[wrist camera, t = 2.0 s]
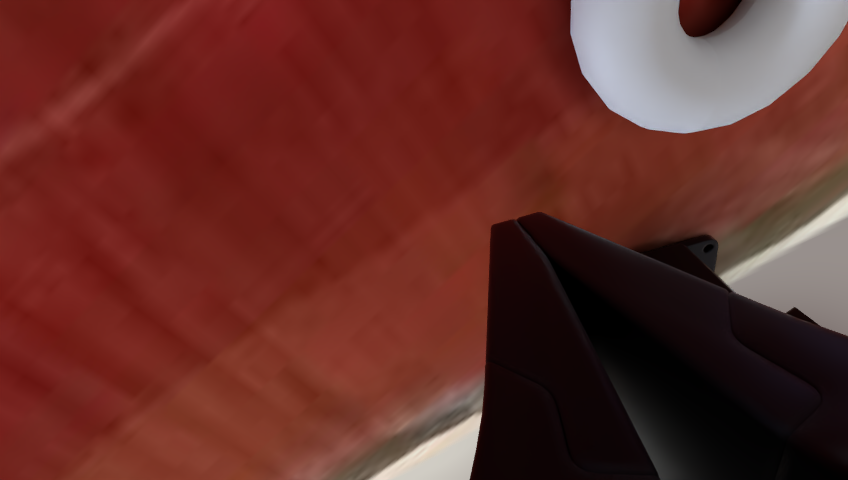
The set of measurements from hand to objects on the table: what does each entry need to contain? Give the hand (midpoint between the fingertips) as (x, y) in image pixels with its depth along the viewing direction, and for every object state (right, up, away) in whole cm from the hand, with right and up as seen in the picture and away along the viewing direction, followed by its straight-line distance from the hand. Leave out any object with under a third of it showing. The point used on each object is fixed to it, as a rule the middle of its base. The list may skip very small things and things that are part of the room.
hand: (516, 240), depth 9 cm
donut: (+8, +9, +11) cm, 16 cm away
